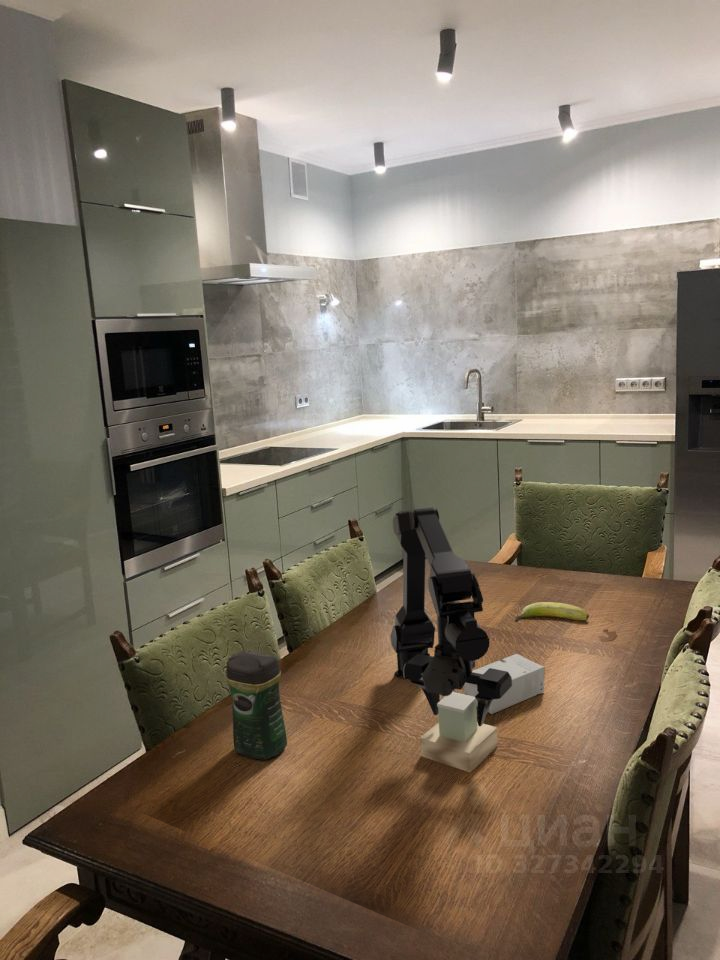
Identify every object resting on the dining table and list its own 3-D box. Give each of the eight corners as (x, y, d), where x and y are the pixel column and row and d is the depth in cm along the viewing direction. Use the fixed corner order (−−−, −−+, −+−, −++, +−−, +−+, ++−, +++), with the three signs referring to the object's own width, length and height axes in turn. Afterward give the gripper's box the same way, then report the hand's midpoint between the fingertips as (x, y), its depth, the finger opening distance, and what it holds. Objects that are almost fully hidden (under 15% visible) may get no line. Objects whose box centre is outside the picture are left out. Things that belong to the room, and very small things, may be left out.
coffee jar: (294, 744, 145) (286, 651, 142) (268, 765, 139) (259, 668, 135) (253, 733, 150) (245, 643, 147) (227, 753, 144) (217, 659, 140)
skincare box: (545, 666, 157) (491, 687, 149) (545, 693, 159) (491, 716, 151) (515, 652, 164) (462, 672, 156) (515, 678, 166) (462, 699, 157)
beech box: (421, 758, 138) (420, 737, 138) (449, 733, 146) (449, 713, 145) (470, 774, 132) (469, 753, 132) (497, 747, 140) (497, 727, 139)
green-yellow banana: (627, 606, 203) (627, 592, 202) (619, 648, 179) (619, 632, 178) (495, 596, 217) (495, 583, 216) (470, 634, 192) (470, 619, 191)
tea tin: (438, 735, 138) (437, 703, 137) (452, 722, 142) (450, 691, 141) (465, 742, 135) (463, 710, 134) (478, 729, 139) (476, 697, 138)
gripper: (384, 645, 134) (389, 728, 137) (484, 665, 123) (487, 754, 126) (416, 623, 143) (420, 701, 146) (511, 639, 132) (514, 723, 135)
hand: (458, 719), depth 138 cm, fingers open, 8 cm apart
